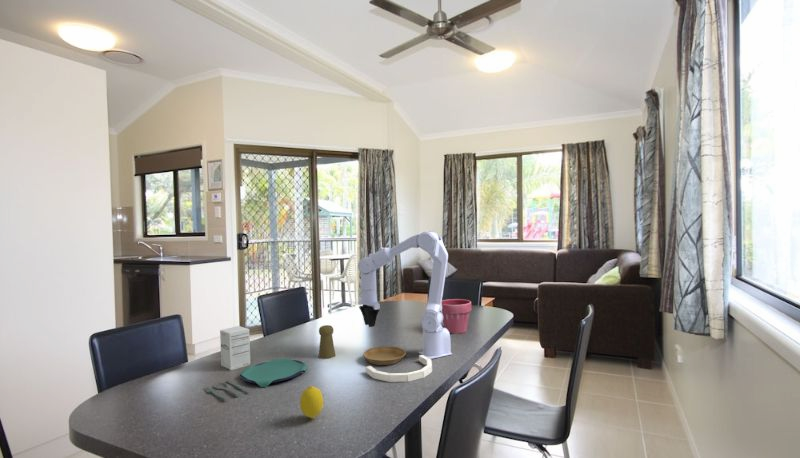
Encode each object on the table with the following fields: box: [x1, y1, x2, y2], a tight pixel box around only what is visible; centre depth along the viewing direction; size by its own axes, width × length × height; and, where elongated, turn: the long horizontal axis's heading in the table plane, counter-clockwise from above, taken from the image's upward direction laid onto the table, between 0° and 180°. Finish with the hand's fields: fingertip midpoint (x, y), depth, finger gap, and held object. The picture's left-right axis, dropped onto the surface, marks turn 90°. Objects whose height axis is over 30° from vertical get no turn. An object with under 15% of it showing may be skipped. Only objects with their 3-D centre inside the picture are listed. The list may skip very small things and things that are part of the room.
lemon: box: [299, 385, 324, 419], centre depth 100 cm, size 6×6×8 cm
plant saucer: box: [362, 346, 406, 366], centre depth 142 cm, size 15×15×3 cm
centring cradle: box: [365, 354, 433, 383], centre depth 128 cm, size 21×13×2 cm, turn 118°
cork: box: [318, 325, 336, 360], centre depth 147 cm, size 6×6×11 cm
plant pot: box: [442, 298, 472, 335], centre depth 175 cm, size 14×14×13 cm
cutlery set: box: [202, 358, 308, 402], centre depth 127 cm, size 20×30×2 cm, turn 137°
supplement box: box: [219, 325, 251, 371], centre depth 140 cm, size 7×7×13 cm
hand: (369, 325), depth 152 cm, fingers open, 3 cm apart
